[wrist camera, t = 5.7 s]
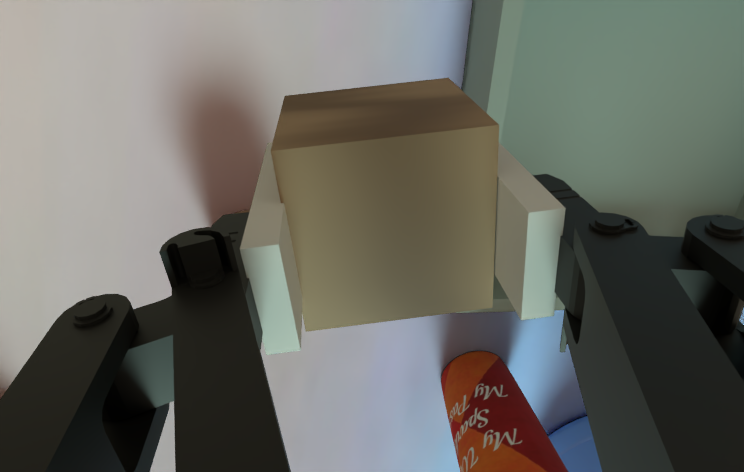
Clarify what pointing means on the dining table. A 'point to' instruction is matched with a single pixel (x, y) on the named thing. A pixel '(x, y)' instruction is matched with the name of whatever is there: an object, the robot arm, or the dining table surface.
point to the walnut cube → (388, 201)
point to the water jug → (576, 446)
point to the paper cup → (493, 419)
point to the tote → (618, 102)
